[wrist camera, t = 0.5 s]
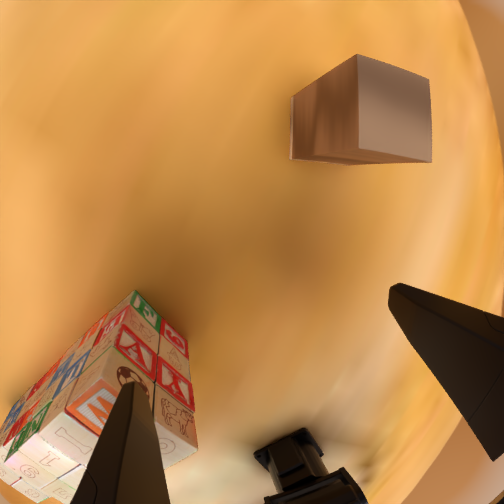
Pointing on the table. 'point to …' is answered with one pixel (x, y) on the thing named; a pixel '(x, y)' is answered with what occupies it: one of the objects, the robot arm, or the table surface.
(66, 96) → the table surface
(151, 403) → the stack of blocks
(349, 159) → the walnut block
